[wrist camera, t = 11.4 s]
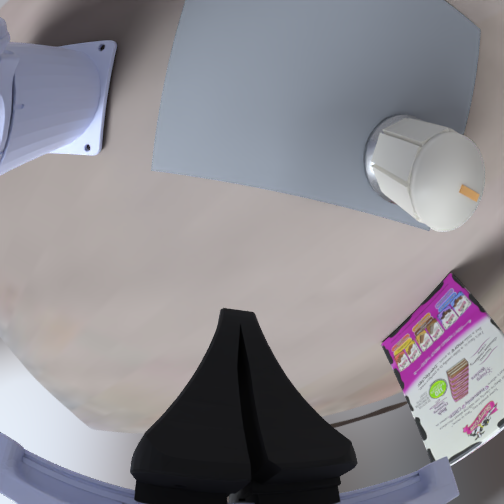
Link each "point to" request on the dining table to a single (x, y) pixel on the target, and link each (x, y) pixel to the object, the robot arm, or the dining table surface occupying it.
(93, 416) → the dining table surface
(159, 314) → the dining table surface
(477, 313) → the candy bar box
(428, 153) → the knob
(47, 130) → the robot arm
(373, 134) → the grey disc
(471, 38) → the board
